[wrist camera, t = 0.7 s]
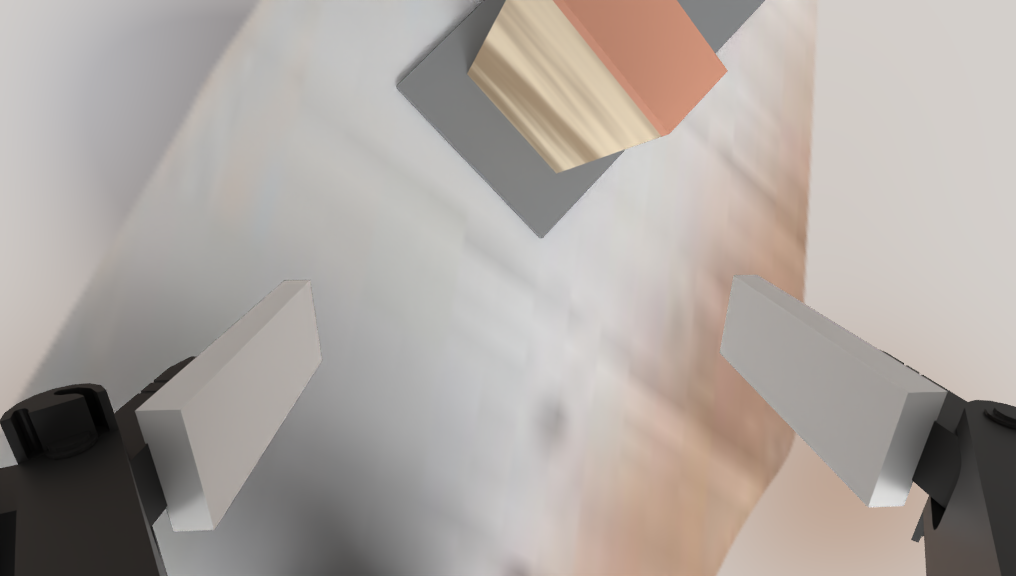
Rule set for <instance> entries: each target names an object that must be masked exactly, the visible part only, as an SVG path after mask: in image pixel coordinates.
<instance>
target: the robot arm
mask: <svg viewBox="0 0 1016 576" xmlns="http://www.w3.org/2000/svg"><path fill="white" fill-rule="evenodd" d="M720 354H721V355H722V356H723V357H724V358H725V359H726V360H727V361H728V362H729V363H730V364H731V365H732V366H733V367H734V368H735V369H736V370H737V371H738V372H739V373H740V374H741V376H742V377H743V378H744V379H745V380H746V381H747V382H748V383H749V384H750V385H751V386H752V387H753V388H754V389H755V390H756V391H757V392H758V393H759V394H760V395H761V396H762V397H763V398H764V399H765V400H766V402H767V403H768V404H769V405H770V406H771V407H772V408H773V409H774V410H775V411H776V412H777V413H778V414H779V415H780V416H781V417H782V418H783V419H784V420H785V421H786V422H787V423H788V424H789V425H790V427H791V428H792V429H793V430H794V431H795V432H796V433H797V434H798V435H799V436H800V437H801V438H802V439H803V440H804V441H805V442H806V443H807V444H808V445H809V446H810V447H811V448H812V449H813V450H814V451H815V452H816V454H817V455H818V456H819V457H820V458H821V459H822V460H823V461H824V462H825V463H826V464H827V465H828V466H829V467H830V468H831V469H832V470H833V471H834V472H835V473H836V474H837V475H838V476H839V477H840V478H841V480H842V481H843V482H844V483H845V484H846V485H847V486H848V487H849V488H850V489H851V490H852V491H853V492H854V493H855V494H856V495H857V496H858V497H859V498H860V499H861V500H862V501H863V502H864V504H865V505H866V506H867V507H888V506H904V504H905V501H906V499H907V496H908V493H909V491H910V488H911V486H912V483H913V481H914V482H915V483H916V484H917V485H918V486H919V487H920V488H922V489H923V490H924V491H925V492H926V493H927V494H929V497H928V500H927V503H926V505H925V507H924V509H923V512H922V515H921V517H920V519H919V522H918V524H917V527H916V529H915V532H914V534H913V537H912V540H913V541H916V542H919V540H920V538H921V536H924V540H925V558H926V575H927V576H1016V407H1014V406H1010V405H1007V404H1003V403H997V402H993V401H983V400H974V401H970V402H967V401H965V400H963V399H962V398H960V397H958V396H957V395H955V394H953V393H951V392H950V391H948V390H947V389H945V388H944V387H942V386H940V385H939V384H937V383H935V382H934V381H932V380H930V379H929V378H927V377H926V376H924V375H920V374H919V372H917V371H915V370H914V369H912V368H910V367H909V366H905V365H904V363H903V362H901V361H899V360H898V359H896V358H894V357H893V356H891V355H889V354H888V353H886V352H884V351H881V350H879V349H877V348H876V347H874V346H872V345H871V344H869V343H867V342H866V341H864V340H863V339H861V338H859V337H858V336H856V335H854V334H853V333H851V332H849V331H848V330H846V329H845V328H843V327H841V326H840V325H838V324H837V323H835V322H833V321H831V320H830V319H828V318H827V317H825V316H823V315H822V314H820V313H819V312H817V311H815V310H814V309H812V308H810V307H809V306H807V305H806V304H804V303H802V302H801V301H799V300H797V299H796V298H794V297H793V296H791V295H789V294H788V293H786V292H784V291H783V290H781V289H779V288H778V287H776V286H775V285H773V284H771V283H770V282H768V281H766V280H765V279H763V278H762V277H760V276H758V275H734V277H733V282H732V288H731V293H730V299H729V304H728V310H727V315H726V321H725V326H724V332H723V337H722V343H721V348H720ZM321 362H322V356H321V349H320V342H319V336H318V329H317V322H316V316H315V309H314V302H313V296H312V289H311V282H310V280H284V281H283V282H282V283H281V284H280V285H278V286H277V287H276V288H275V289H274V290H273V291H272V292H270V293H269V294H268V295H267V296H266V297H265V298H264V299H262V300H261V301H260V302H259V303H258V304H257V305H256V306H254V307H253V308H252V309H251V310H250V311H249V312H248V313H246V314H245V315H244V316H243V317H242V318H241V319H239V320H238V321H237V322H236V323H235V324H234V325H233V326H231V327H230V328H229V329H228V330H227V331H226V332H225V333H223V334H222V335H221V336H220V337H219V338H218V339H217V340H215V341H214V342H213V343H212V344H211V345H210V346H209V347H207V348H206V349H205V350H204V351H203V352H202V353H201V354H199V355H198V356H197V357H190V358H188V359H186V360H184V361H182V362H180V363H178V364H176V365H174V366H172V367H170V368H168V369H167V370H166V371H165V372H163V373H162V374H161V375H160V376H159V377H157V378H156V379H155V380H154V383H150V384H149V385H148V386H147V387H145V388H144V389H143V390H142V391H141V394H137V395H136V396H135V397H133V398H132V399H131V400H130V401H129V402H127V403H126V404H125V405H124V406H123V407H121V408H120V409H119V410H118V411H117V412H115V413H114V412H113V409H112V406H111V403H110V401H109V398H108V395H107V392H106V390H105V389H104V388H103V387H102V386H101V385H96V384H90V383H89V384H75V385H69V386H65V387H60V388H55V389H52V390H49V391H46V392H43V393H40V394H37V395H34V396H32V397H30V398H28V399H26V400H24V401H22V402H20V403H18V404H16V405H15V406H13V407H12V408H11V409H9V410H8V411H7V412H5V413H4V415H3V416H2V418H1V419H0V424H1V427H2V429H3V431H4V433H5V436H6V438H7V440H8V442H9V445H10V447H11V449H12V451H13V454H14V456H15V458H16V460H17V463H18V465H14V466H9V467H5V468H0V576H167V573H166V570H165V566H164V563H163V559H162V556H161V552H160V549H159V546H158V542H157V539H156V536H155V533H154V530H153V527H152V525H153V524H154V522H155V521H156V520H157V519H158V517H159V516H160V515H161V514H162V512H163V511H164V510H165V509H166V510H167V513H168V516H169V519H170V522H171V525H172V528H173V531H174V532H178V531H206V530H215V529H216V527H217V525H218V524H219V522H220V521H221V519H222V517H223V516H224V514H225V513H226V511H227V510H228V508H229V506H230V505H231V503H232V502H233V500H234V499H235V497H236V495H237V494H238V492H239V491H240V489H241V488H242V486H243V484H244V483H245V481H246V480H247V478H248V477H249V475H250V473H251V472H252V470H253V469H254V467H255V465H256V464H257V462H258V461H259V459H260V458H261V456H262V454H263V453H264V451H265V450H266V448H267V447H268V445H269V443H270V442H271V440H272V439H273V437H274V436H275V434H276V432H277V431H278V429H279V428H280V426H281V425H282V423H283V421H284V420H285V418H286V417H287V415H288V414H289V412H290V410H291V409H292V407H293V406H294V404H295V402H296V401H297V399H298V398H299V396H300V395H301V393H302V391H303V390H304V388H305V387H306V385H307V384H308V382H309V380H310V379H311V377H312V376H313V374H314V373H315V371H316V369H317V368H318V366H319V365H320V363H321Z"/></svg>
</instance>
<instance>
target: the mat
mask: <svg viewBox="0 0 1016 576" xmlns="http://www.w3.org/2000/svg"><path fill="white" fill-rule="evenodd" d="M505 1H506V0H484V1H483V2H482V3H481V4H480V5H479V6H478V7H477V8H476V9H475V10H474V11H473V12H472V13H471V14H470V15H469V16H468V17H467V18H466V19H465V20H464V21H462V22H461V23H460V24H459V25H458V26H457V27H456V28H455V29H454V30H453V31H452V32H451V33H450V34H449V35H448V36H447V37H446V38H445V39H444V40H443V41H442V42H441V43H440V44H439V45H438V46H437V47H436V48H435V49H434V50H433V51H432V52H431V53H430V54H429V55H428V56H427V57H426V58H425V59H424V60H423V61H422V62H421V63H420V64H419V65H418V66H416V67H415V68H414V69H413V70H412V71H411V72H410V73H409V74H408V75H407V76H406V77H405V78H404V79H403V80H402V81H401V82H400V83H399V84H398V85H397V89H398V90H399V91H400V92H401V93H402V94H403V95H404V96H405V98H406V99H407V100H408V101H409V102H410V103H411V104H412V105H413V106H414V107H415V108H416V109H417V110H418V111H419V112H420V113H421V114H422V115H423V116H424V117H425V118H426V120H427V121H428V122H429V123H430V124H431V125H432V126H433V127H434V128H435V129H436V130H437V131H438V132H439V133H440V134H441V135H442V136H443V137H444V138H445V139H446V140H447V142H448V143H449V144H450V145H451V146H452V147H453V148H454V149H455V150H456V151H457V152H458V153H459V154H460V155H461V156H462V157H463V158H464V159H465V160H466V161H467V162H468V164H469V165H470V166H471V167H472V168H473V169H474V170H475V171H476V172H477V173H478V174H479V175H480V176H481V177H482V178H483V179H484V180H485V181H486V182H487V183H488V184H489V186H490V187H491V188H492V189H493V190H494V191H495V192H496V193H497V194H498V195H499V196H500V197H501V198H502V199H503V200H504V201H505V202H506V203H507V204H508V205H509V206H510V208H511V209H512V210H513V211H514V212H515V213H516V214H517V215H518V216H519V217H520V218H521V219H522V220H523V221H524V222H525V223H526V224H527V225H528V226H529V227H530V228H531V230H532V231H533V232H534V233H535V234H536V235H537V236H538V237H539V238H543V237H544V236H545V235H546V234H547V233H548V232H549V231H550V230H551V228H552V227H553V226H554V225H555V224H556V223H557V222H558V221H559V220H560V219H561V218H562V217H563V216H564V215H565V214H566V212H567V211H568V210H569V209H570V208H571V207H572V206H573V205H574V204H575V203H576V202H577V201H578V200H579V199H580V197H581V196H582V195H583V194H584V193H585V192H586V191H587V190H588V189H589V188H590V187H591V186H592V185H593V184H594V183H595V181H596V180H597V179H598V178H599V177H600V176H601V175H602V174H603V173H604V172H605V171H606V170H607V169H608V168H609V167H610V165H611V164H612V163H613V162H614V161H615V160H616V159H617V158H618V157H619V156H620V155H621V154H622V153H623V152H624V150H622V151H619V152H616V153H613V154H611V155H608V156H605V157H602V158H599V159H596V160H594V161H591V162H588V163H585V164H582V165H579V166H576V167H574V168H571V169H568V170H565V171H562V172H559V173H557V174H556V172H555V171H554V170H553V169H552V168H551V167H550V166H549V165H548V164H547V162H546V161H545V160H544V159H543V158H542V157H541V156H540V155H539V153H538V152H537V151H536V150H535V149H534V148H533V147H532V146H531V145H530V143H529V142H528V141H527V140H526V139H525V138H524V137H523V136H522V135H521V133H520V132H519V131H518V130H517V129H516V128H515V127H514V126H513V125H512V123H511V122H510V121H509V120H508V119H507V118H506V117H505V116H504V114H503V113H502V112H501V111H500V110H499V109H498V108H497V107H496V106H495V104H494V103H493V102H492V101H491V100H490V99H489V98H488V97H487V96H486V94H485V93H484V92H483V91H482V90H481V89H480V88H479V87H478V86H477V84H476V83H475V82H474V81H473V80H472V79H471V78H470V77H469V75H468V74H467V73H468V71H469V69H470V67H471V66H472V64H473V62H474V60H475V58H476V56H477V54H478V52H479V50H480V48H481V47H482V45H483V43H484V41H485V39H486V37H487V35H488V33H489V31H490V30H491V28H492V26H493V24H494V22H495V20H496V18H497V16H498V14H499V13H500V11H501V9H502V7H503V5H504V3H505ZM677 1H678V3H679V4H680V5H681V7H682V8H683V9H684V11H685V12H686V14H687V15H688V16H689V18H690V19H691V21H692V22H693V23H694V25H695V26H696V28H697V29H698V30H699V32H700V33H701V34H702V36H703V37H704V39H705V40H706V41H707V43H708V44H709V46H710V47H711V48H712V50H713V51H714V53H716V52H717V51H718V50H719V49H720V48H721V47H722V46H723V45H724V44H725V43H726V42H727V40H728V39H729V38H730V37H731V36H732V35H733V34H734V33H735V32H736V31H737V30H738V29H739V28H740V27H741V26H742V24H743V23H744V22H745V21H746V20H747V19H748V18H749V17H750V16H751V15H752V14H753V13H754V12H755V11H756V10H757V8H758V7H759V6H760V5H761V4H762V3H763V2H764V1H765V0H677Z"/></svg>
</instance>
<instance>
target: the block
mask: <svg viewBox="0 0 1016 576" xmlns="http://www.w3.org/2000/svg"><path fill="white" fill-rule="evenodd" d="M726 72H727V69H726V68H725V66H724V65H723V64H722V62H721V61H720V59H719V58H718V57H717V55H716V54H715V53H714V51H713V50H712V48H711V47H710V46H709V44H708V43H707V41H706V40H705V39H704V37H703V36H702V34H701V33H700V32H699V30H698V29H697V28H696V26H695V25H694V23H693V22H692V21H691V19H690V18H689V16H688V15H687V14H686V12H685V11H684V9H683V8H682V7H681V5H680V4H679V3H678V1H677V0H506V1H505V3H504V5H503V7H502V9H501V11H500V13H499V14H498V16H497V18H496V20H495V22H494V24H493V26H492V28H491V30H490V31H489V33H488V35H487V37H486V39H485V41H484V43H483V45H482V47H481V48H480V50H479V52H478V54H477V56H476V58H475V60H474V62H473V64H472V66H471V67H470V69H469V71H468V73H467V74H468V75H469V77H470V78H471V79H472V80H473V81H474V82H475V83H476V84H477V86H478V87H479V88H480V89H481V90H482V91H483V92H484V93H485V94H486V96H487V97H488V98H489V99H490V100H491V101H492V102H493V103H494V104H495V106H496V107H497V108H498V109H499V110H500V111H501V112H502V113H503V114H504V116H505V117H506V118H507V119H508V120H509V121H510V122H511V123H512V125H513V126H514V127H515V128H516V129H517V130H518V131H519V132H520V133H521V135H522V136H523V137H524V138H525V139H526V140H527V141H528V142H529V143H530V145H531V146H532V147H533V148H534V149H535V150H536V151H537V152H538V153H539V155H540V156H541V157H542V158H543V159H544V160H545V161H546V162H547V164H548V165H549V166H550V167H551V168H552V169H553V170H554V171H555V172H556V174H557V173H559V172H562V171H565V170H568V169H571V168H574V167H576V166H579V165H582V164H585V163H588V162H591V161H594V160H596V159H599V158H602V157H605V156H608V155H611V154H613V153H616V152H619V151H622V150H625V149H628V148H630V147H633V146H636V145H639V144H642V143H645V142H648V141H650V140H653V139H656V138H659V137H662V136H665V135H667V134H670V133H671V132H672V130H673V129H674V128H675V127H676V126H677V125H678V124H679V123H680V122H681V121H682V120H683V119H684V118H685V116H686V115H687V114H688V113H689V112H690V111H691V110H692V109H693V108H694V107H695V106H696V105H697V104H698V102H699V101H700V100H701V99H702V98H703V97H704V96H705V95H706V94H707V93H708V92H709V91H710V90H711V88H712V87H713V86H714V85H715V84H716V83H717V82H718V81H719V80H720V79H721V78H722V77H723V75H724V74H725V73H726Z"/></svg>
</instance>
